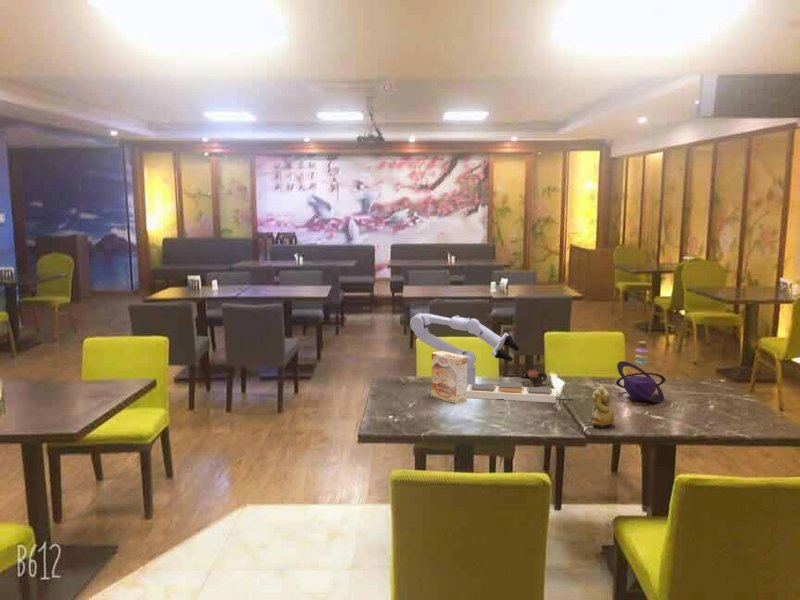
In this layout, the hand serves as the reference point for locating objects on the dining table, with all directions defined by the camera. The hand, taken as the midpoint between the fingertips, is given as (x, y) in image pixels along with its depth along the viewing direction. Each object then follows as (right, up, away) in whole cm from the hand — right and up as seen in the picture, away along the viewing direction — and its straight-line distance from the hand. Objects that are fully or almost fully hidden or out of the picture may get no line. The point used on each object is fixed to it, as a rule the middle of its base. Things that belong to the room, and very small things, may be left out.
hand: (515, 354), depth 285 cm
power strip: (0, -17, -8) cm, 19 cm away
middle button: (-3, -14, -8) cm, 17 cm away
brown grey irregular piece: (+11, -15, +11) cm, 22 cm away
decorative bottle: (+51, -18, -12) cm, 55 cm away
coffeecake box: (-30, -18, -10) cm, 37 cm away
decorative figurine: (+25, -23, -44) cm, 55 cm away
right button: (+8, -16, -10) cm, 21 cm away
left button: (-15, -15, -6) cm, 22 cm away
